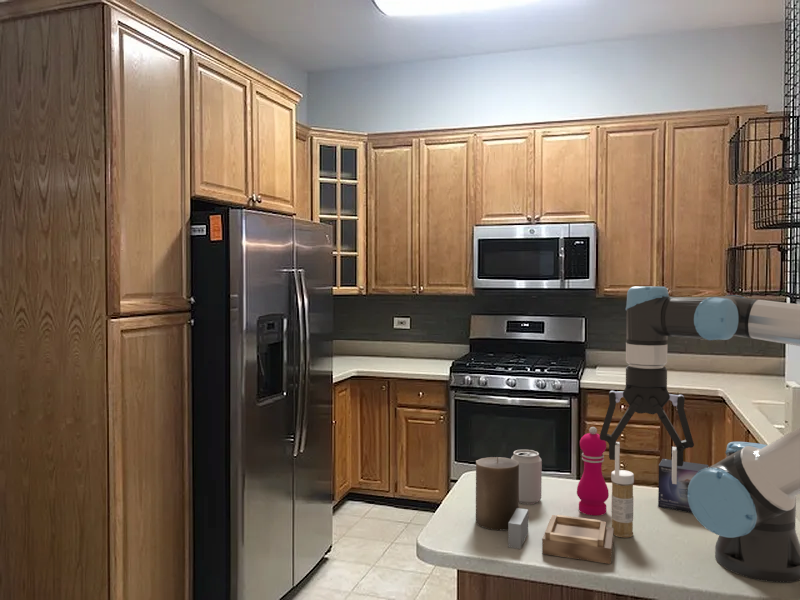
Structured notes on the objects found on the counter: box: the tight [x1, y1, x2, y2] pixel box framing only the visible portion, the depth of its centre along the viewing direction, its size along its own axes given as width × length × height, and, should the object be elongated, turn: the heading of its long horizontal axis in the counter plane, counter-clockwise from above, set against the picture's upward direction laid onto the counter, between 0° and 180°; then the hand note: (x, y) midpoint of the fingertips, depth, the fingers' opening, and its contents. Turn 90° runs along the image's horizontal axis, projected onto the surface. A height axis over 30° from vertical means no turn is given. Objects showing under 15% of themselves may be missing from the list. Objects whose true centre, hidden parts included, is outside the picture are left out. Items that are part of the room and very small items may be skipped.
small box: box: [657, 458, 710, 514], centre depth 152 cm, size 11×6×10 cm, turn 60°
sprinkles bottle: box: [610, 469, 635, 539], centre depth 136 cm, size 5×5×13 cm
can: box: [510, 449, 543, 505], centre depth 158 cm, size 8×8×12 cm
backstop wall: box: [507, 507, 529, 550], centre depth 134 cm, size 2×9×5 cm, turn 159°
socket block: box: [541, 514, 615, 565], centre depth 130 cm, size 13×11×4 cm
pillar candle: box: [475, 456, 520, 531], centre depth 143 cm, size 10×10×15 cm
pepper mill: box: [576, 426, 610, 517], centre depth 150 cm, size 7×7×20 cm
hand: (645, 479), depth 125 cm, fingers open, 10 cm apart
